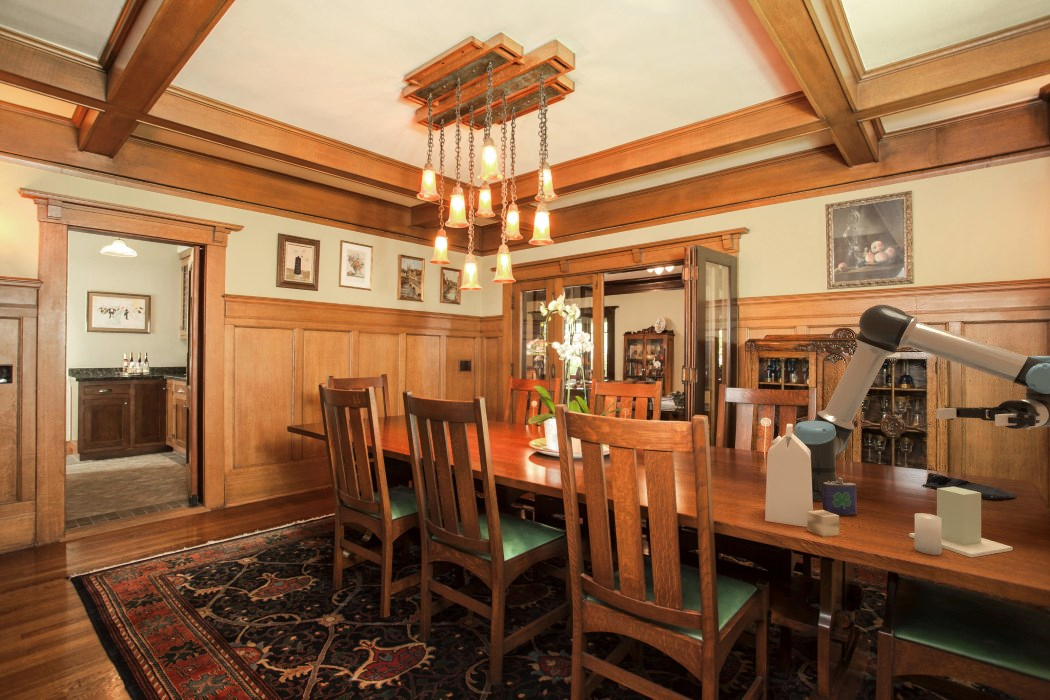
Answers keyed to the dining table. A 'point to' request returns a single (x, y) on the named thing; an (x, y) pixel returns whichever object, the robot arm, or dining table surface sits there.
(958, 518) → the sage block
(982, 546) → the white tile
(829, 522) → the maple cube
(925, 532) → the white cylinder
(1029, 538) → the dining table surface
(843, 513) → the flask
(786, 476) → the milk
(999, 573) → the dining table surface
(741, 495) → the dining table surface
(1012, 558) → the dining table surface
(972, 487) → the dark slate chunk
